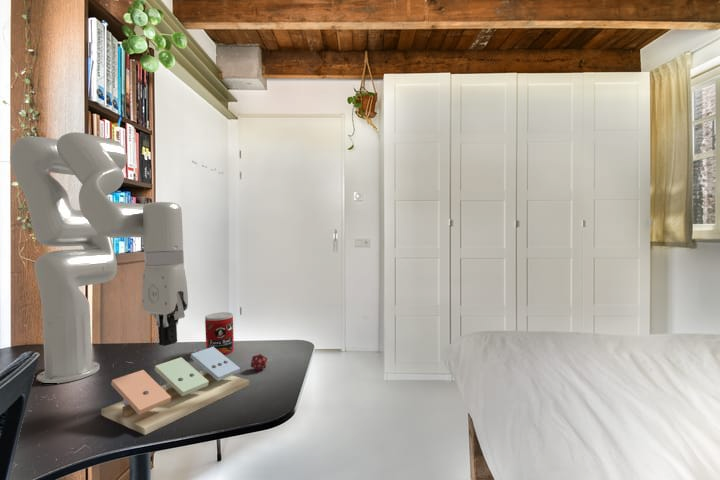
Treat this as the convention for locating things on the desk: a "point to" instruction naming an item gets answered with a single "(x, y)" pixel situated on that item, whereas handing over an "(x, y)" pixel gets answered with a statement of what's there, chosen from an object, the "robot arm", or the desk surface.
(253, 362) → the dice
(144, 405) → the tile
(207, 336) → the canned food
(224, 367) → the tile
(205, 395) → the board
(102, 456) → the desk surface
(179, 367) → the tile
